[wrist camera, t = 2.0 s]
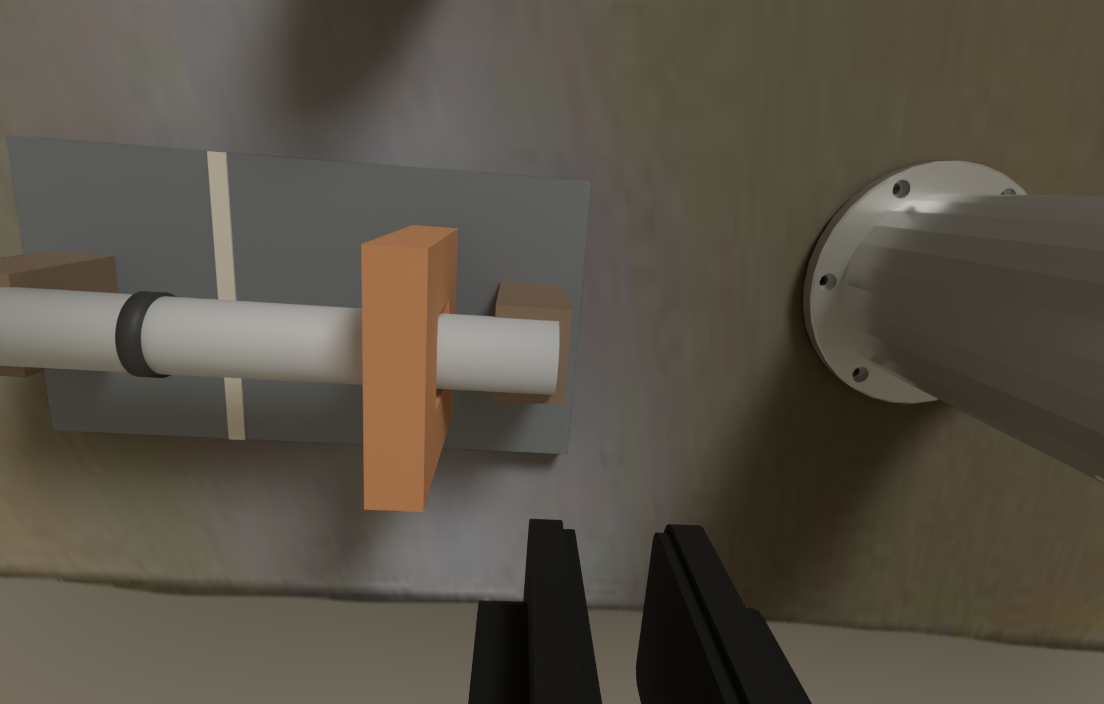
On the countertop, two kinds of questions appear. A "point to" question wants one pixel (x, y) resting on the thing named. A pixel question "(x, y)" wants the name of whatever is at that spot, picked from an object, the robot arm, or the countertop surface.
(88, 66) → the countertop surface
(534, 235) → the pipe stand
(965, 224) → the robot arm
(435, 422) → the orange square ring
